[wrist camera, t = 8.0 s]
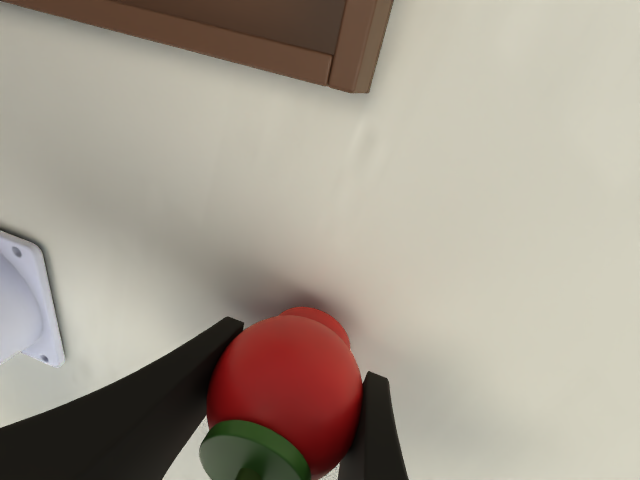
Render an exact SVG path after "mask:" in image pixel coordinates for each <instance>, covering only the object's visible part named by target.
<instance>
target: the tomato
mask: <svg viewBox="0 0 640 480" xmlns="http://www.w3.org/2000/svg"><path fill="white" fill-rule="evenodd" d="M362 400H363V384H362V379H361V375H360V370H359V368H358V365H357V363H356V360H355V358H354V356H353V354H352V352H351V351H350V342H349V338H348V336H347V333H346V332H345V330H344V328H343V327H342V326H341V325H340V323H339V322H338V321H336V320H335V319H334V318H333V317H331V316H330V315H328V314H327V313H325V312H323V311H320V310H318V309H315V308H310V307H294V308H290V309H288V310H286V311H284V312H282V313H281V314H280V315H278V316H276V317H271V318H268V319H265V320H262V321H259V322H257V323H255V324H253V325H251V326H250V327H248V328H247V329H245V330H244V331H242V332H241V333H240V334H239V335H238V336H236V337H235V338H234V339H233V340H232V342H231V343H230V344H229V345H228V346H227V347H226V349H225V350H224V352H223V353H222V355H221V356H220V358H219V360H218V362H217V364H216V366H215V368H214V370H213V373H212V376H211V379H210V382H209V387H208V393H207V420H208V426H209V432H208V433H207V435H206V437H205V438H204V440H203V441H202V443H201V446H200V450H199V457H200V461H201V464H202V466H203V468H204V470H205V471H206V473H207V474H208V476H209V477H210V478H211V479H212V480H318V479H320V478H322V477H323V476H325V475H326V474H328V473H329V472H330V471H331V470H332V469H334V468H335V467H336V466H337V465H338V463H339V462H340V461H341V460H342V459H343V458H344V456H345V455H346V453H347V452H348V450H349V449H350V447H351V445H352V443H353V440H354V438H355V434H356V431H357V427H358V423H359V418H360V413H361V407H362Z"/></svg>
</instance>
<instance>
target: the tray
mask: <svg viewBox="0 0 640 480" xmlns="http://www.w3.org/2000/svg"><path fill="white" fill-rule="evenodd" d="M0 1H2V2H6V3H10V4H14V5H17V6H21V7H25V8H29V9H33V10H36V11H40V12H44V13H48V14H52V15H55V16H59V17H63V18H67V19H71V20H74V21H78V22H82V23H86V24H90V25H94V26H97V27H101V28H105V29H109V30H113V31H116V32H120V33H124V34H128V35H132V36H135V37H139V38H143V39H147V40H151V41H154V42H158V43H162V44H166V45H170V46H173V47H177V48H181V49H185V50H189V51H192V52H196V53H200V54H204V55H208V56H211V57H215V58H219V59H223V60H227V61H231V62H234V63H238V64H242V65H246V66H250V67H253V68H257V69H261V70H265V71H269V72H272V73H276V74H280V75H284V76H288V77H291V78H295V79H299V80H303V81H307V82H310V83H314V84H318V85H322V86H329V87H330V88H333V89H337V90H341V91H345V92H348V93H369V90H370V87H371V83H372V79H373V75H374V72H375V68H376V64H377V61H378V57H379V53H380V49H381V46H382V42H383V38H384V35H385V31H386V27H387V23H388V20H389V16H390V12H391V9H392V5H393V1H394V0H0Z"/></svg>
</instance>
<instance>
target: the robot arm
mask: <svg viewBox="0 0 640 480" xmlns="http://www.w3.org/2000/svg"><path fill="white" fill-rule="evenodd" d="M243 327H244V322H241V321H239V320H236V319H233V318H231V317H225V318H223V319H222V320H221V321H219V322H218V323H216V324H215V325H213V326H212V327H210V328H209V329H207V330H205V331H204V332H202V333H201V334H199V335H198V336H196V337H195V338H193V339H191V340H190V341H188V342H187V343H185V344H183V345H182V346H180V347H178V348H177V349H175V350H173V351H172V352H170V353H168V354H167V355H165V356H163V357H161V358H160V359H158V360H156V361H154V362H152V363H151V364H149V365H147V366H145V367H143V368H141V369H140V370H138V371H136V372H134V373H132V374H130V375H128V376H126V377H124V378H122V379H120V380H118V381H116V382H114V383H112V384H110V385H108V386H105V387H103V388H101V389H99V390H97V391H95V392H92V393H90V394H88V395H85V396H83V397H81V398H78V399H76V400H74V401H71V402H69V403H67V404H64V405H62V406H59V407H57V408H54V409H51V410H49V411H46V412H44V413H41V414H38V415H35V416H33V417H30V418H27V419H24V420H21V421H19V422H16V423H13V424H10V425H8V426H5V427H2V428H0V480H162V479H163V477H164V475H165V474H166V472H167V470H168V469H169V467H170V466H171V464H172V463H173V461H174V460H175V458H176V457H177V455H178V454H179V452H180V451H181V450H182V448H183V447H184V445H185V444H186V443H187V441H188V440H189V438H190V437H191V436H192V434H193V433H194V431H195V430H196V429H197V427H198V426H199V424H200V423H201V422H202V420H203V419H204V417H205V416H206V415H207V393H208V387H209V382H210V379H211V376H212V373H213V370H214V368H215V366H216V364H217V362H218V360H219V358H220V356H221V355H222V353H223V352H224V350H225V349H226V347H227V346H228V345H229V344H230V343H231V342H232V340H233V339H234V338H235V337H236V336H238V335H239V334H240V333H241V332H242V331H243ZM20 352H21V353H23V354H26V355H28V356H30V357H32V358H35V359H37V360H39V361H41V362H43V363H46V364H48V365H50V366H52V367H55V368H57V367H60V366H61V365H63V364H64V363H65V355H64V350H63V346H62V341H61V337H60V332H59V327H58V323H57V318H56V313H55V309H54V304H53V299H52V295H51V290H50V285H49V281H48V276H47V271H46V267H45V262H44V258H43V254H42V251H41V250H40V248H39V247H38V246H37V245H35V244H34V243H31V242H29V241H26V240H23V239H21V238H18V237H16V236H13V235H11V234H8V233H6V232H3V231H0V365H1V364H3V363H4V362H6V361H7V360H9V359H10V358H12V357H13V356H15V355H17V354H18V353H20ZM338 480H409V479H408V476H407V472H406V468H405V464H404V460H403V456H402V452H401V448H400V443H399V439H398V435H397V430H396V425H395V420H394V414H393V409H392V403H391V396H390V387H389V381H388V379H387V378H385V377H382V376H380V375H377V374H375V373H372V372H370V371H368V373H367V375H366V377H365V380H364V382H363V400H362V407H361V413H360V418H359V423H358V427H357V431H356V434H355V438H354V440H353V443H352V445H351V447H350V449H349V450H348V452H347V453H346V455H345V456H344V458H343V459H342V460H341V461H340V467H339V474H338Z"/></svg>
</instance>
